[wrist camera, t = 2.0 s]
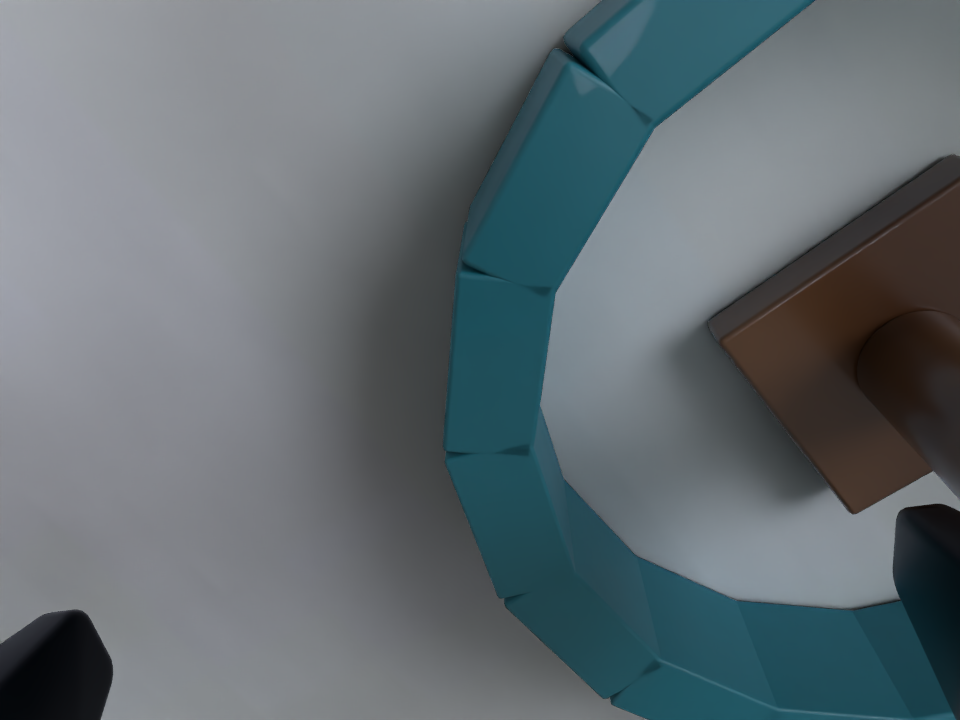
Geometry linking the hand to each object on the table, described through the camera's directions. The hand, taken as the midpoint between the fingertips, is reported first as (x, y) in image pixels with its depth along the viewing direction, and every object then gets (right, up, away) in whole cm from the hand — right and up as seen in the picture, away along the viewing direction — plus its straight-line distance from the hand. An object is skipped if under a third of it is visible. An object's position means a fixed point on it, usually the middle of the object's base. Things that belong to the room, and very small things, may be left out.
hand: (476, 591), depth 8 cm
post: (+6, +3, +3) cm, 8 cm away
